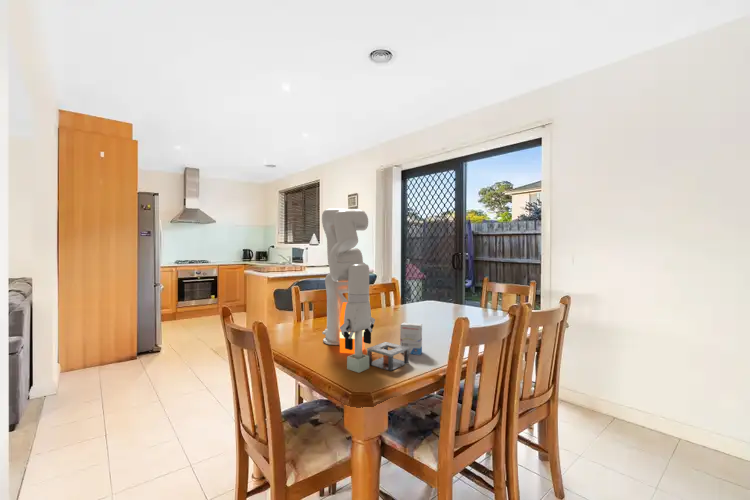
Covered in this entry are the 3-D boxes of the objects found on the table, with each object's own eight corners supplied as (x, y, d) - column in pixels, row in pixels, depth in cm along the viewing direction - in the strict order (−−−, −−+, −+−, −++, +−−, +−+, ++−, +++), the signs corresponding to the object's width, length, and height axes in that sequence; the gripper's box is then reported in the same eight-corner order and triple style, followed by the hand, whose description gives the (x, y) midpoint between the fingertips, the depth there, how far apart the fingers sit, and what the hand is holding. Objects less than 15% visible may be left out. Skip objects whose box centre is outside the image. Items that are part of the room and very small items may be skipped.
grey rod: (353, 367, 126) (353, 322, 126) (358, 365, 129) (358, 321, 128) (358, 369, 125) (358, 323, 124) (364, 366, 127) (364, 322, 126)
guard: (367, 364, 131) (367, 348, 131) (385, 356, 140) (385, 341, 140) (390, 371, 124) (391, 354, 124) (408, 363, 133) (408, 347, 133)
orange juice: (360, 354, 143) (360, 304, 142) (339, 352, 145) (339, 303, 144) (364, 348, 151) (365, 301, 150) (344, 347, 152) (345, 300, 152)
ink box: (422, 351, 147) (422, 323, 147) (420, 355, 142) (421, 325, 142) (402, 349, 149) (402, 321, 149) (399, 353, 144) (400, 324, 144)
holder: (347, 368, 126) (347, 356, 126) (357, 364, 131) (357, 352, 131) (358, 372, 123) (358, 359, 123) (369, 368, 127) (369, 355, 127)
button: (381, 362, 132) (381, 354, 132) (387, 360, 134) (387, 352, 134) (388, 364, 129) (388, 356, 129) (394, 362, 132) (394, 354, 132)
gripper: (366, 294, 135) (366, 339, 136) (333, 300, 122) (333, 349, 122) (381, 296, 130) (381, 342, 131) (349, 302, 117) (349, 354, 117)
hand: (358, 346), depth 127 cm, fingers open, 9 cm apart
